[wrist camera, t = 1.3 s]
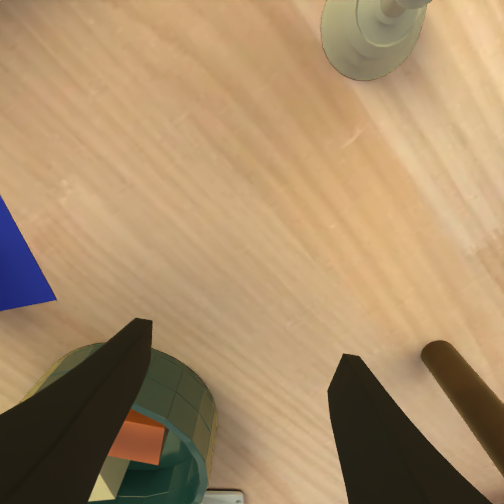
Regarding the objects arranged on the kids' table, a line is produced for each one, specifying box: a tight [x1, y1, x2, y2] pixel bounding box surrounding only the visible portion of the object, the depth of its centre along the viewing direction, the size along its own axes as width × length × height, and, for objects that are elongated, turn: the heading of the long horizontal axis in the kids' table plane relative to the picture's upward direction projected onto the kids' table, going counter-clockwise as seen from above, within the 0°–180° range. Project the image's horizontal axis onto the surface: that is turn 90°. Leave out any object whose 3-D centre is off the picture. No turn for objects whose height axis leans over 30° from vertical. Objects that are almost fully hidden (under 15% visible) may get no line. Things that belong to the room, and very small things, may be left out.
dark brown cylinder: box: [421, 341, 504, 477], centre depth 19 cm, size 2×2×9 cm
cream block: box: [88, 456, 130, 502], centre depth 25 cm, size 4×4×4 cm
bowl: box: [17, 343, 217, 504], centre depth 24 cm, size 15×15×5 cm
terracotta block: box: [107, 409, 169, 465], centre depth 23 cm, size 4×4×4 cm
